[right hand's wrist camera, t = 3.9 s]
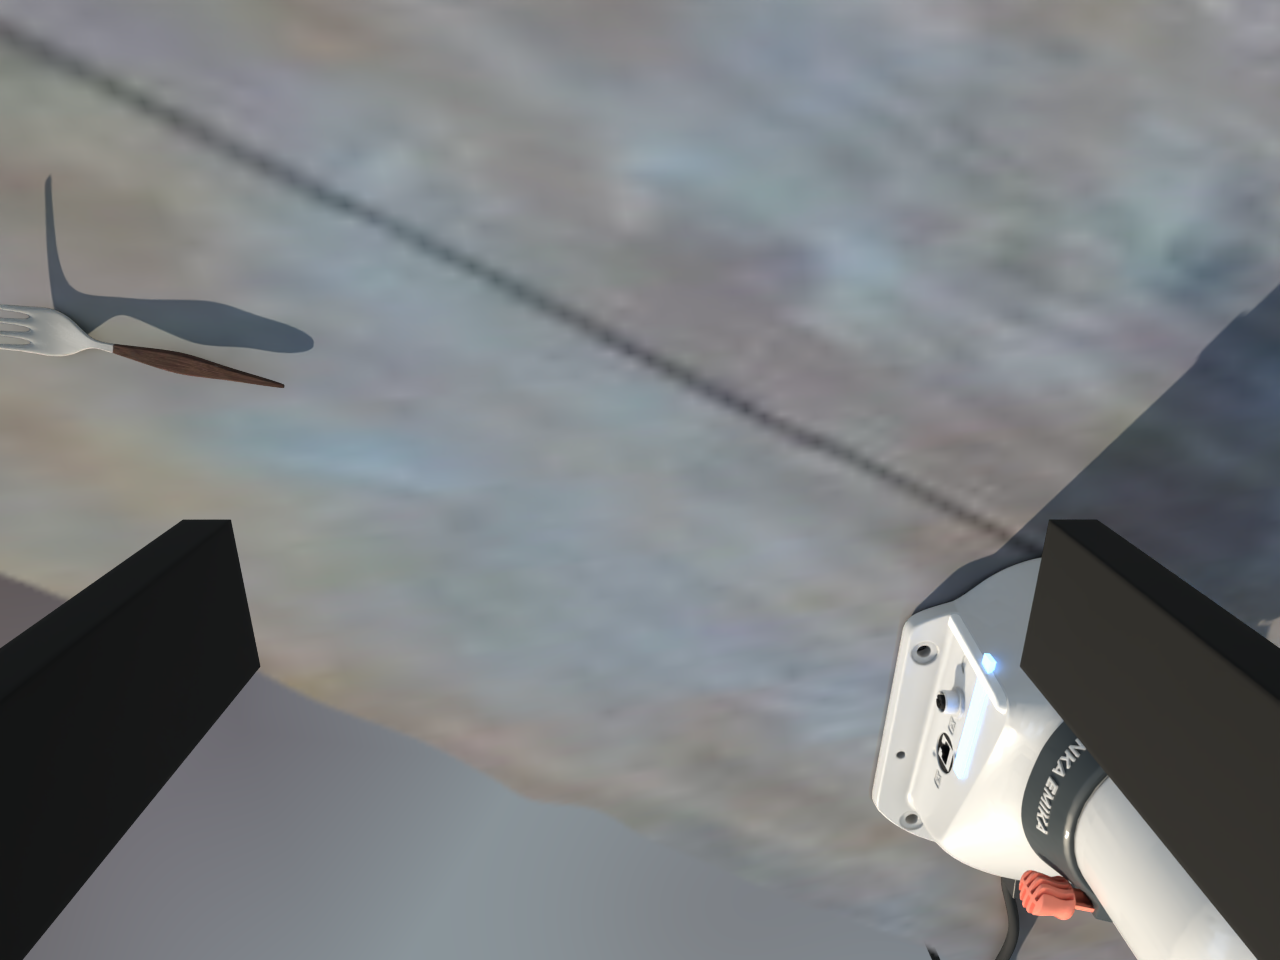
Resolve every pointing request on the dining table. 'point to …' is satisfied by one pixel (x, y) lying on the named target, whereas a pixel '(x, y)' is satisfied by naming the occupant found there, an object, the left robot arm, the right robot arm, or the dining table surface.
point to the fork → (109, 346)
